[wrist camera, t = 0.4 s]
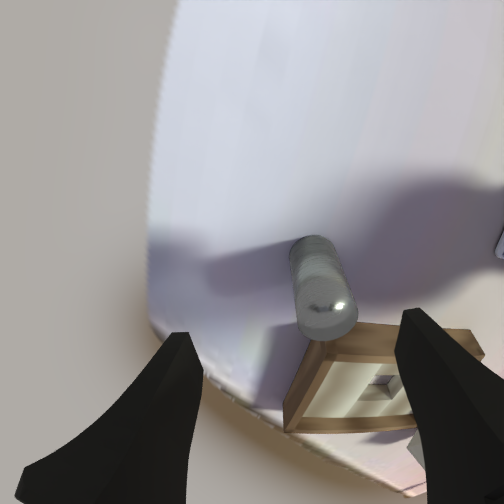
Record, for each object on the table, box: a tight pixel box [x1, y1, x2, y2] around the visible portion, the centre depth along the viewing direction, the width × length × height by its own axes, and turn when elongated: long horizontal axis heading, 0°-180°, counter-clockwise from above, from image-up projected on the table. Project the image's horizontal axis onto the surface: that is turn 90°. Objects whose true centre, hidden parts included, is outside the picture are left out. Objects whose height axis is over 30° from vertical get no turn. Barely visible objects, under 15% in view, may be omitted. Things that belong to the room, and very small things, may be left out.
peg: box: [289, 235, 358, 341], centre depth 17 cm, size 3×3×6 cm
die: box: [407, 429, 425, 470], centre depth 28 cm, size 8×9×10 cm
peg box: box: [283, 322, 485, 434], centre depth 24 cm, size 16×12×4 cm
